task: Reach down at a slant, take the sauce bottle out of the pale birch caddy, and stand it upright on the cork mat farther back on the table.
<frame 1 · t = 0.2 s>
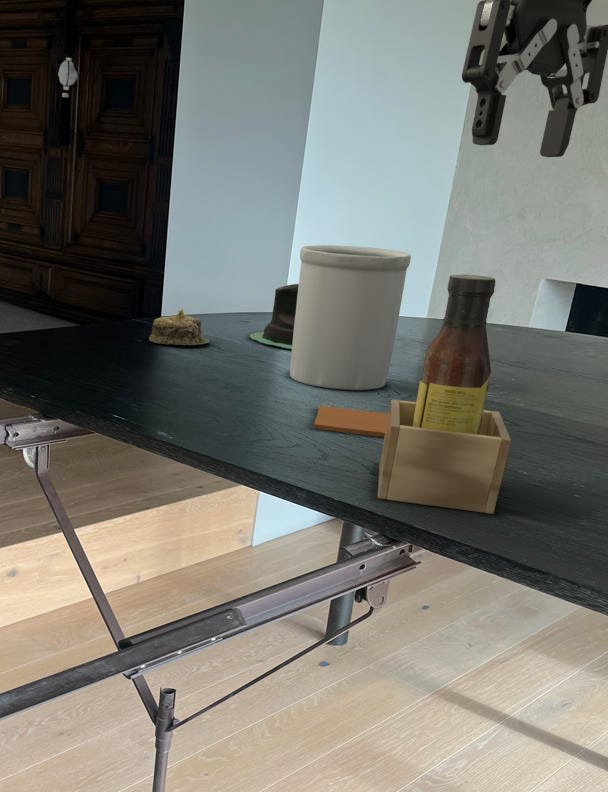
hand: (518, 150, 87), 30 cm above the table, tool pointing down, fingers open, 8 cm apart
caddy: (432, 488, 98), on the table
sauce bottle: (432, 490, 98), resting in caddy
utensil holder: (335, 381, 142), on the table
cake: (179, 343, 161), on the table
cork mat: (358, 424, 120), on the table
chocolate cake: (308, 344, 169), on the table
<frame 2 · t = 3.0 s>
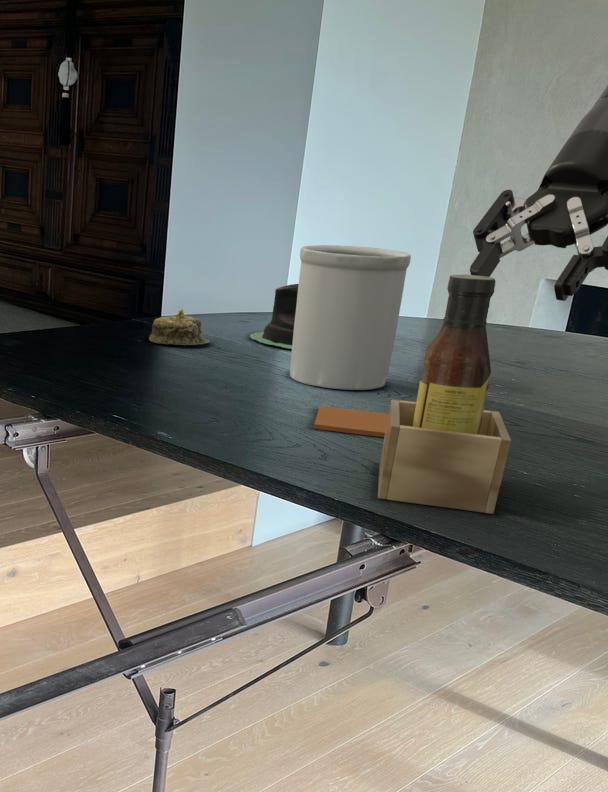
hand: (516, 287, 94), 19 cm above the table, tool tilted 45°, fingers open, 8 cm apart
nothing on the table moved.
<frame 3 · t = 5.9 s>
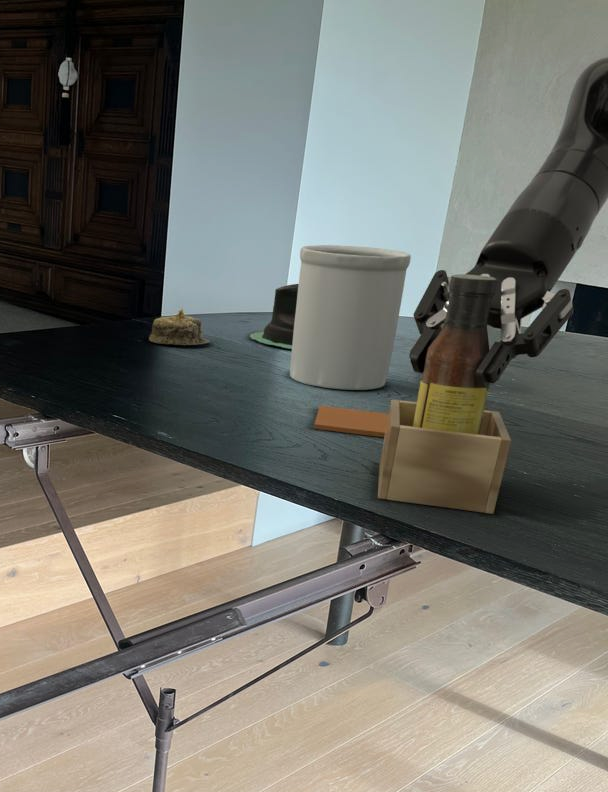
hand: (447, 374, 92), 11 cm above the table, tool tilted 45°, fingers closed on sauce bottle, 6 cm apart
sauce bottle: (432, 490, 98), resting in caddy, touching gripper
everything else where it was.
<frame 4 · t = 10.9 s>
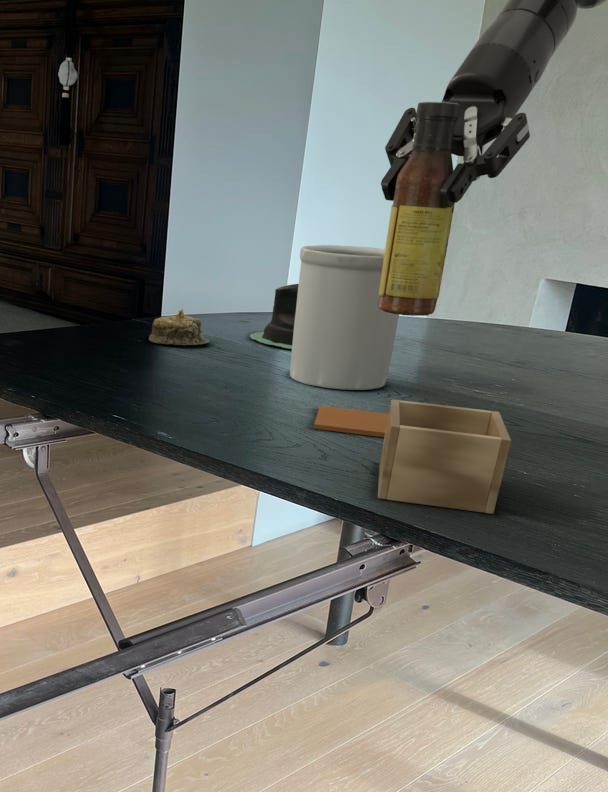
hand: (415, 197, 100), 26 cm above the table, tool tilted 45°, fingers closed on sauce bottle, 6 cm apart
sauce bottle: (403, 314, 106), point 14 cm above the table, touching gripper
everything else where it was.
when the fingers open (12 cm above the table, at t = 16.0 s): sauce bottle stays where it is, resting on cork mat.
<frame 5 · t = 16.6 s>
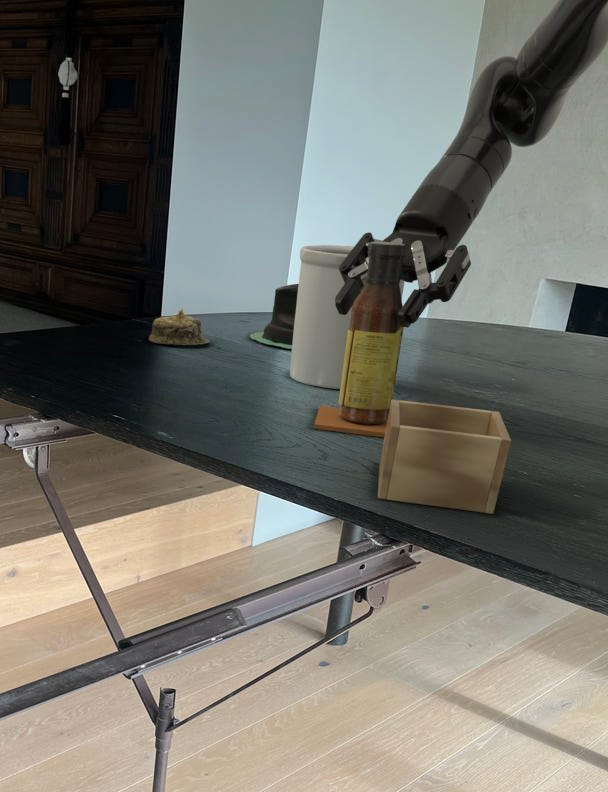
hand: (370, 316, 113), 13 cm above the table, tool tilted 45°, fingers open, 8 cm apart
sauce bottle: (360, 421, 119), resting on cork mat
everything else where it was.
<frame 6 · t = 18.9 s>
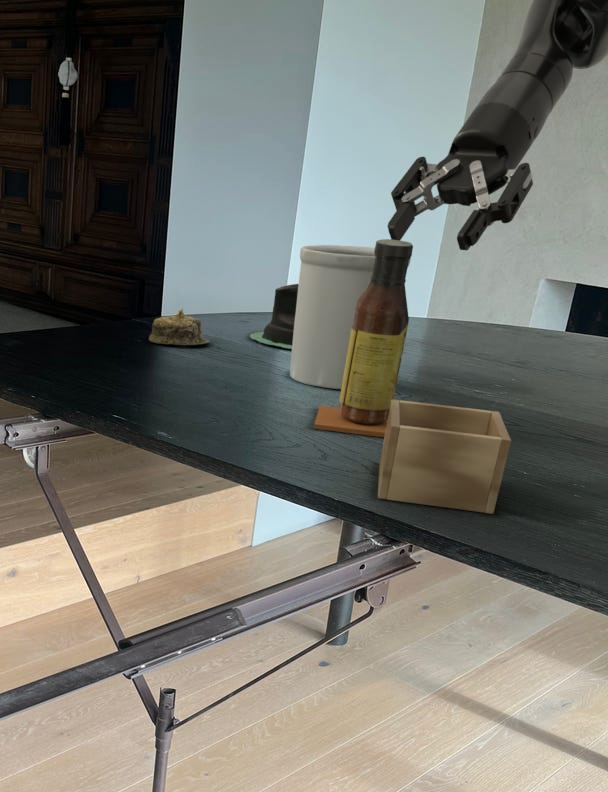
hand: (426, 240, 108), 21 cm above the table, tool tilted 45°, fingers open, 8 cm apart
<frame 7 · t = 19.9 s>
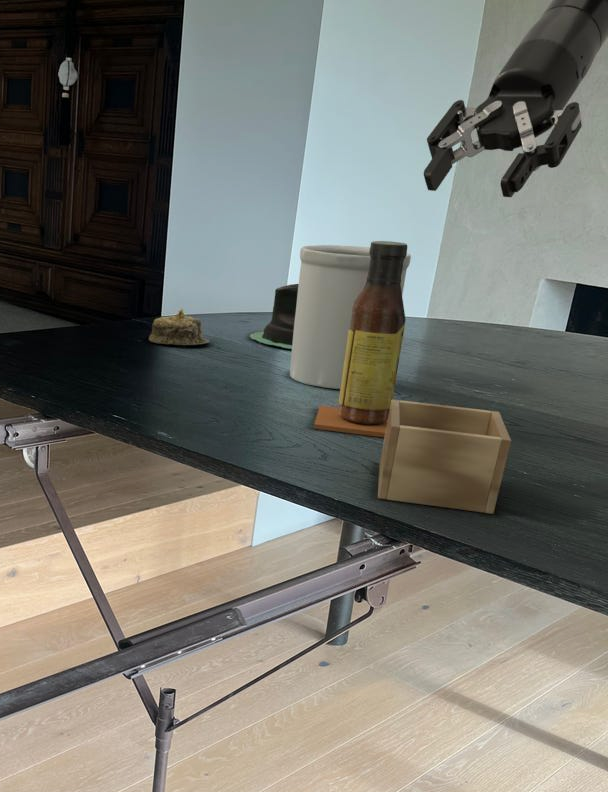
hand: (466, 187, 100), 27 cm above the table, tool tilted 45°, fingers open, 8 cm apart
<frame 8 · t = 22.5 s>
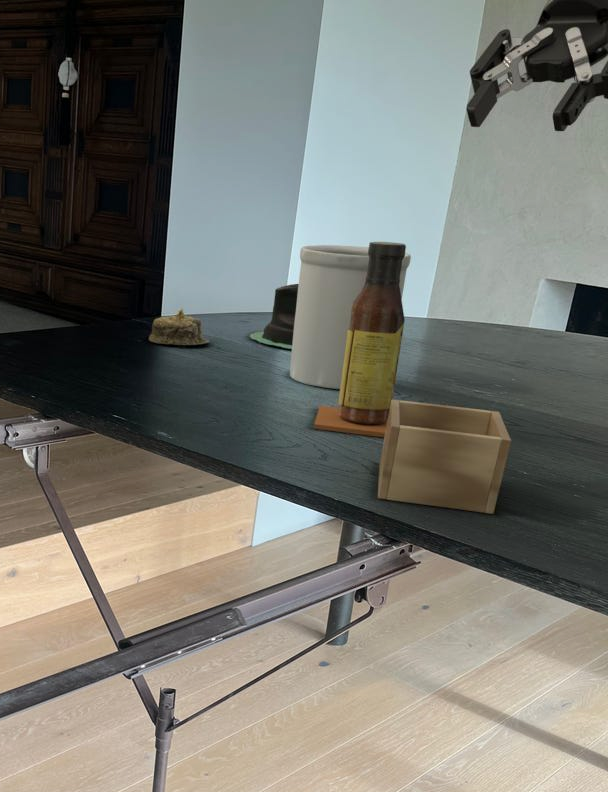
hand: (513, 121, 93), 33 cm above the table, tool tilted 45°, fingers open, 8 cm apart
nothing on the table moved.
at the end: sauce bottle inside the target area on the cork mat (0.2 cm from its centre), point 0.4 cm above the cork mat's base; sauce bottle tilted 0°; the gripper is holding nothing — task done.
